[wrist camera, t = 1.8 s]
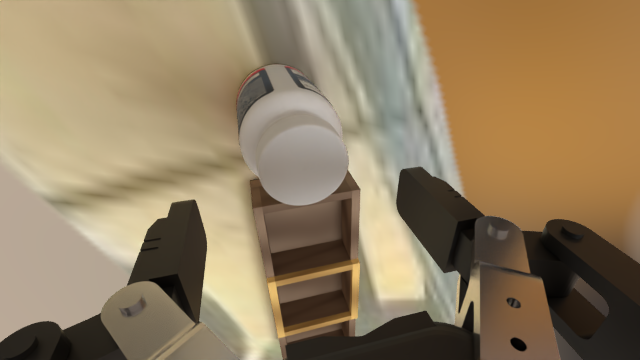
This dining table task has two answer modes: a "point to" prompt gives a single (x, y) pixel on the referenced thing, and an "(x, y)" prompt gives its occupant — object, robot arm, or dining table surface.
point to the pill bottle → (290, 135)
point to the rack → (311, 262)
